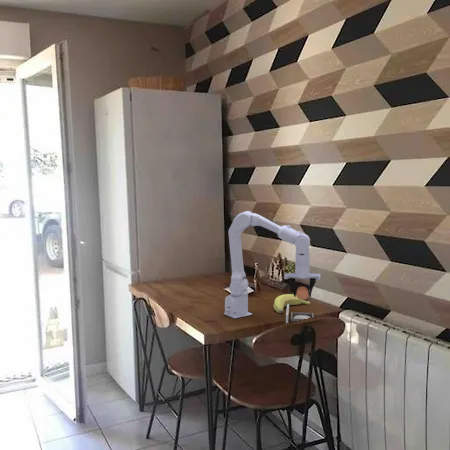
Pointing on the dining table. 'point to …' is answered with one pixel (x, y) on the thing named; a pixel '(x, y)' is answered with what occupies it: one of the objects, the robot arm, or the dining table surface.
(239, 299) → the robot arm
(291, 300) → the banana
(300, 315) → the grey square frame
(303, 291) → the ball
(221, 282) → the dining table surface
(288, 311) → the acrylic wall
